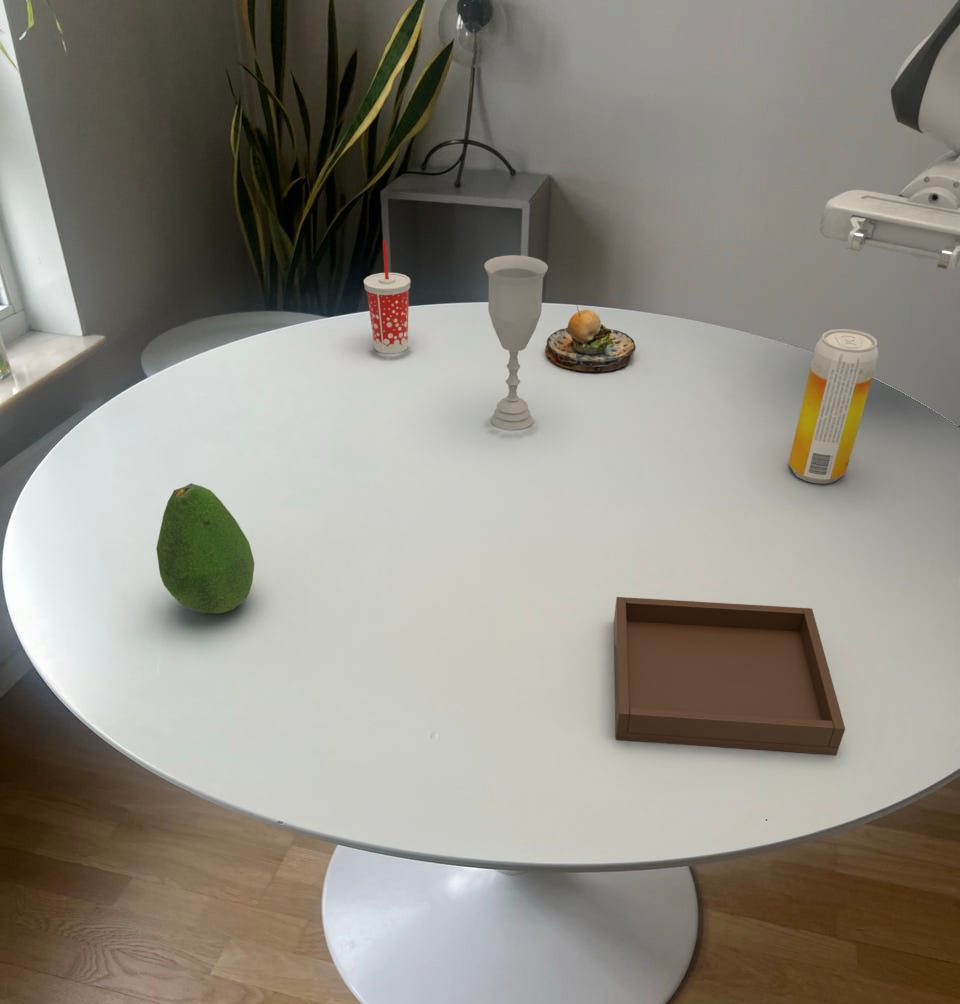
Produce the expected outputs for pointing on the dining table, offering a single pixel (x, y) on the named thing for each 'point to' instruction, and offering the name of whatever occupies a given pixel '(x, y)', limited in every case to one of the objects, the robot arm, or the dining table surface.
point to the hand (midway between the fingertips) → (899, 251)
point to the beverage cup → (388, 308)
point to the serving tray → (723, 676)
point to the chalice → (514, 324)
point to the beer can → (833, 404)
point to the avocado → (203, 552)
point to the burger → (589, 345)
